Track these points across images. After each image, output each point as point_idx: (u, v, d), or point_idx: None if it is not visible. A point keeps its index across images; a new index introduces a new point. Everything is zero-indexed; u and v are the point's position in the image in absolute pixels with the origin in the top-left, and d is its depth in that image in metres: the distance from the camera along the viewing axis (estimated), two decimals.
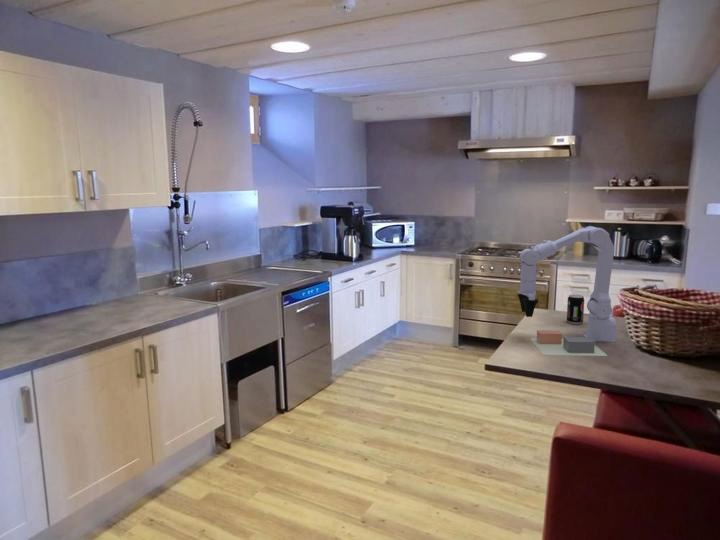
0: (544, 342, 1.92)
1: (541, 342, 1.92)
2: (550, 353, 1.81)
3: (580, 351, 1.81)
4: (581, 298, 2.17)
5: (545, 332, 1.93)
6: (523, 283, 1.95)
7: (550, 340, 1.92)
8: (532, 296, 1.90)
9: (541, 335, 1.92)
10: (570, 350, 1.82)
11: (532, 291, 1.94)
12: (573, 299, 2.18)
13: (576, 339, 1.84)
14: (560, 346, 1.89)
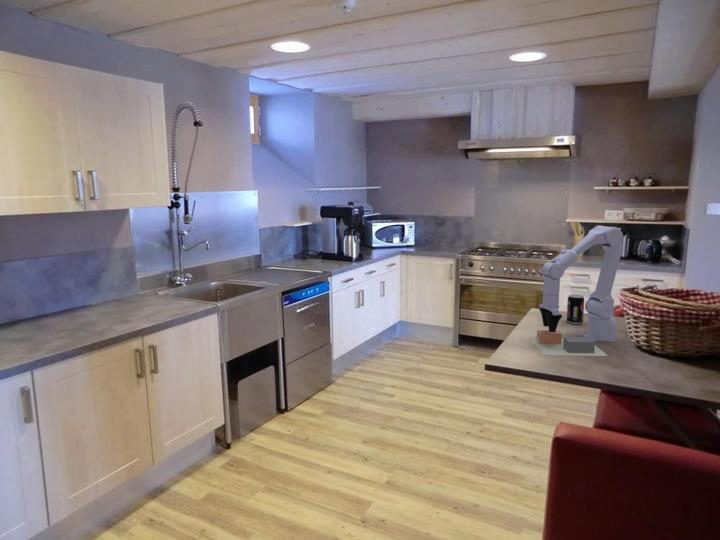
0: (544, 342, 1.92)
1: (541, 342, 1.92)
2: (550, 353, 1.81)
3: (580, 351, 1.81)
4: (581, 298, 2.17)
5: (545, 332, 1.93)
6: (546, 297, 1.89)
7: (550, 340, 1.92)
8: (556, 311, 1.85)
9: (541, 335, 1.92)
10: (570, 350, 1.82)
11: (555, 306, 1.89)
12: (573, 299, 2.18)
13: (576, 339, 1.84)
14: (560, 346, 1.89)
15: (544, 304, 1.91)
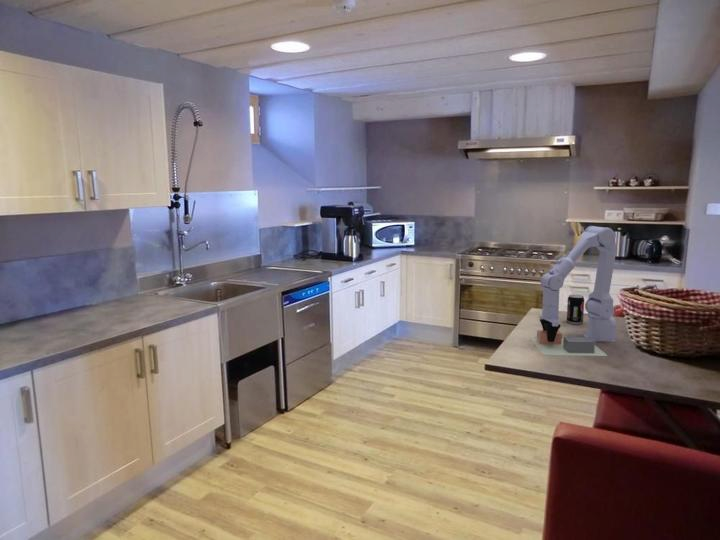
0: (544, 342, 1.92)
1: (541, 342, 1.92)
2: (550, 353, 1.81)
3: (580, 351, 1.81)
4: (581, 298, 2.17)
5: (545, 332, 1.93)
6: (546, 308, 1.90)
7: None
8: (555, 322, 1.85)
9: (541, 335, 1.92)
10: (570, 350, 1.82)
11: (555, 317, 1.90)
12: (573, 299, 2.18)
13: (576, 339, 1.84)
14: (560, 346, 1.89)
15: (544, 315, 1.91)
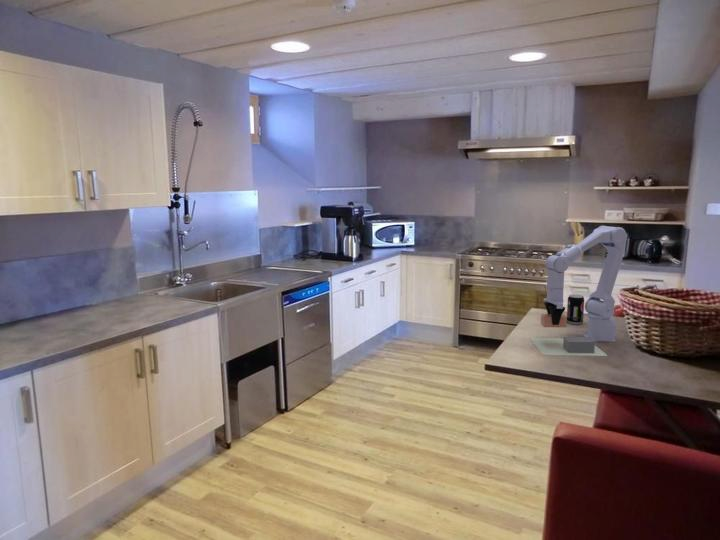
0: (548, 325, 1.90)
1: (545, 325, 1.90)
2: (550, 353, 1.81)
3: (580, 351, 1.81)
4: (581, 298, 2.17)
5: (549, 315, 1.91)
6: (550, 291, 1.88)
7: None
8: (560, 304, 1.83)
9: (545, 318, 1.89)
10: (570, 350, 1.82)
11: (560, 299, 1.87)
12: (573, 299, 2.18)
13: (576, 339, 1.84)
14: (560, 346, 1.89)
15: (548, 298, 1.89)
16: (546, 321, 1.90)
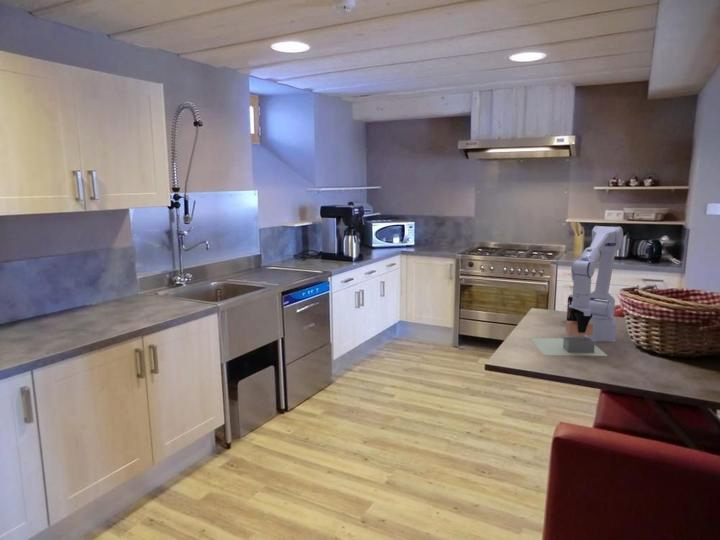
0: (574, 333, 1.81)
1: (571, 333, 1.81)
2: (550, 353, 1.81)
3: (580, 351, 1.81)
4: None
5: (575, 323, 1.82)
6: (576, 297, 1.80)
7: None
8: (588, 311, 1.75)
9: (571, 326, 1.81)
10: (570, 350, 1.82)
11: (586, 306, 1.79)
12: None
13: (576, 339, 1.84)
14: (560, 346, 1.89)
15: (574, 304, 1.81)
16: (572, 329, 1.81)
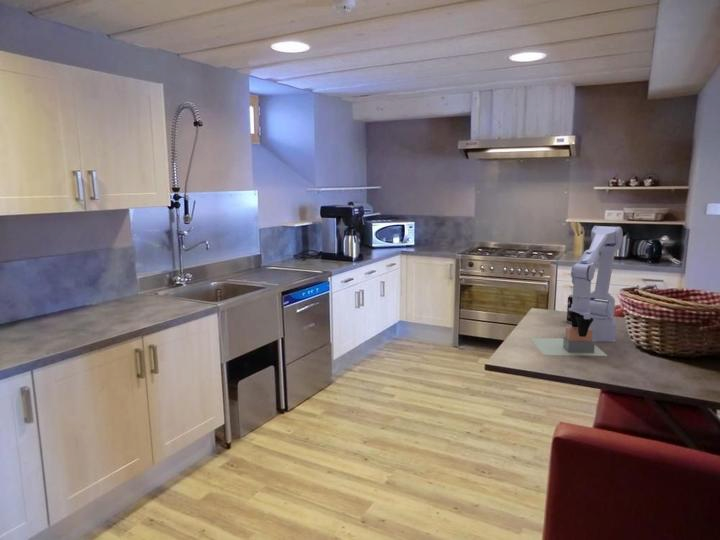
0: (574, 339, 1.82)
1: (571, 339, 1.82)
2: (550, 353, 1.81)
3: (580, 351, 1.81)
4: None
5: (575, 329, 1.83)
6: (576, 300, 1.80)
7: (580, 337, 1.81)
8: (588, 315, 1.75)
9: (571, 332, 1.81)
10: (570, 350, 1.82)
11: (586, 309, 1.79)
12: None
13: None
14: (560, 346, 1.89)
15: (574, 307, 1.81)
16: (571, 335, 1.82)
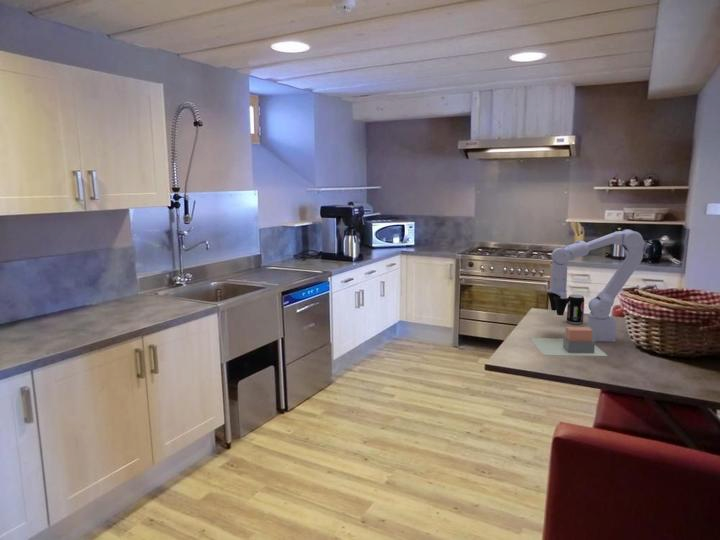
0: (574, 339, 1.82)
1: (571, 339, 1.82)
2: (550, 353, 1.81)
3: (580, 351, 1.81)
4: (581, 298, 2.17)
5: (575, 329, 1.83)
6: (554, 282, 1.97)
7: (580, 337, 1.81)
8: (564, 295, 1.92)
9: (571, 332, 1.81)
10: (570, 350, 1.82)
11: (563, 290, 1.96)
12: (573, 299, 2.18)
13: None
14: (560, 346, 1.89)
15: (552, 288, 1.98)
16: (571, 335, 1.82)
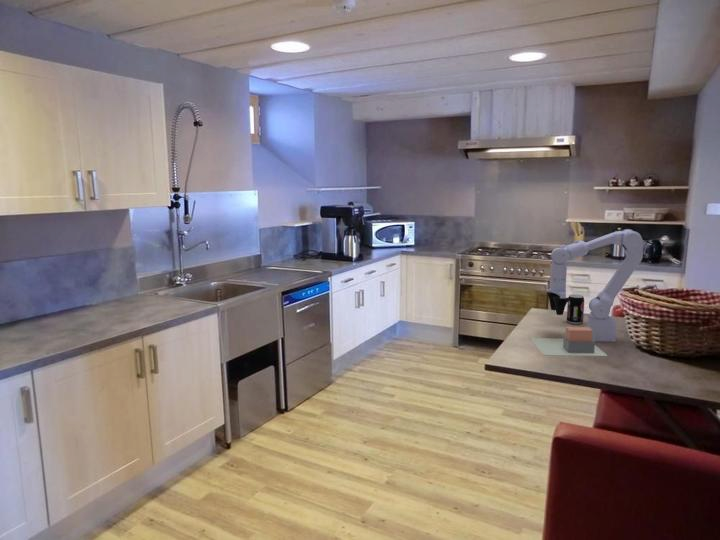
0: (574, 339, 1.82)
1: (571, 339, 1.82)
2: (550, 353, 1.81)
3: (580, 351, 1.81)
4: (581, 298, 2.17)
5: (575, 329, 1.83)
6: (554, 281, 1.97)
7: (580, 337, 1.81)
8: (563, 294, 1.92)
9: (571, 332, 1.81)
10: (570, 350, 1.82)
11: (563, 290, 1.97)
12: (573, 299, 2.18)
13: None
14: (560, 346, 1.89)
15: (552, 288, 1.98)
16: (571, 335, 1.82)
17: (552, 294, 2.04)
